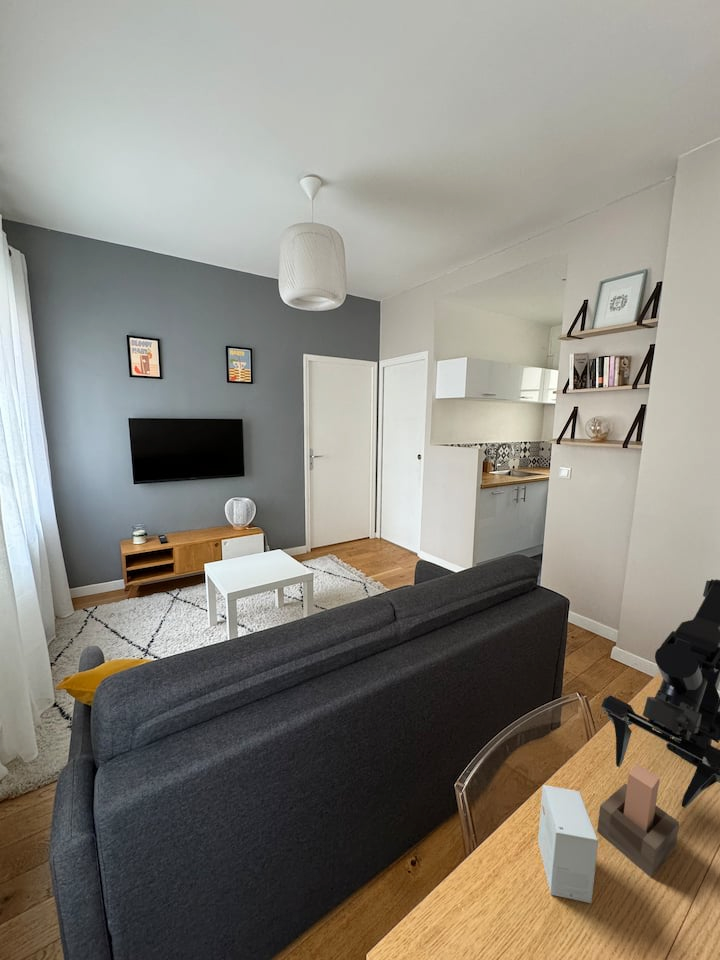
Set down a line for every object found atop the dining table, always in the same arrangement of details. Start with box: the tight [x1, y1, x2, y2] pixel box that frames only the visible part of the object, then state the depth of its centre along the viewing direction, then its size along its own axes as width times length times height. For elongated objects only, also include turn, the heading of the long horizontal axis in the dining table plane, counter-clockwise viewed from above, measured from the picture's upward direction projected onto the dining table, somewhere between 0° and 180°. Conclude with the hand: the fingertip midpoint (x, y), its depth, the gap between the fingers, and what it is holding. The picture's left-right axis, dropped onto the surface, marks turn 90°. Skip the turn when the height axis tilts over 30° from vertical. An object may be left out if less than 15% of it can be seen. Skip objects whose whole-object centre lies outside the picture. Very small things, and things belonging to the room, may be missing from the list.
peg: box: [624, 763, 660, 833], centre depth 65 cm, size 3×3×11 cm
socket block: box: [596, 783, 680, 878], centre depth 66 cm, size 8×8×5 cm
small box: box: [537, 784, 599, 904], centre depth 61 cm, size 8×6×10 cm
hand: (648, 785), depth 66 cm, fingers open, 9 cm apart
